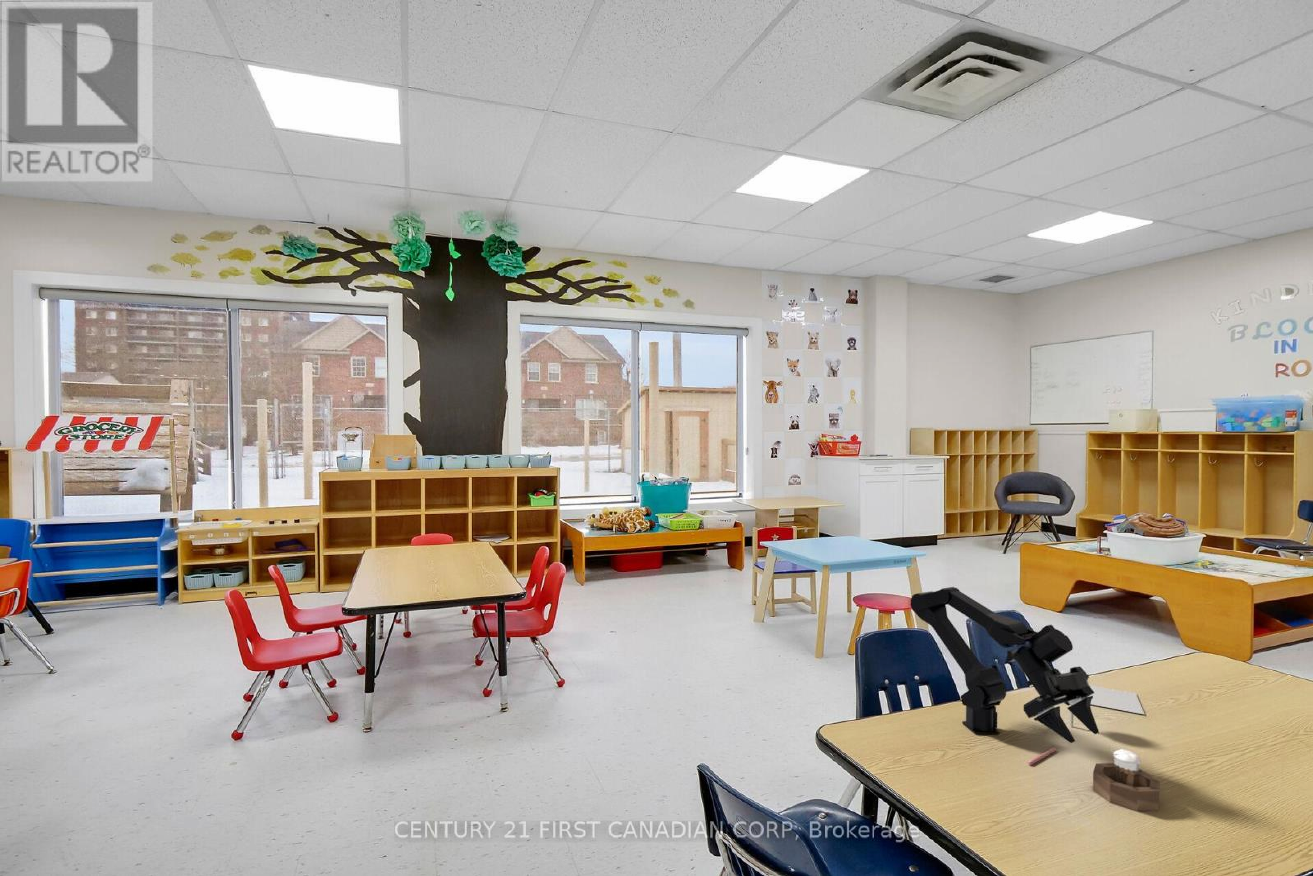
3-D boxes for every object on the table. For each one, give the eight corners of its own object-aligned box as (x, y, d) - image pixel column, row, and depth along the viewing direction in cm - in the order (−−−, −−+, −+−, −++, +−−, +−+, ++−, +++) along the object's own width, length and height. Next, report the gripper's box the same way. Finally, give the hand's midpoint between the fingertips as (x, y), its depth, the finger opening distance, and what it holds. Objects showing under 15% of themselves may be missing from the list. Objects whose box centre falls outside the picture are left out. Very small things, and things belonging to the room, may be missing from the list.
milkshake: (1104, 787, 137) (1105, 741, 137) (1133, 791, 136) (1134, 744, 136) (1113, 798, 133) (1114, 750, 133) (1143, 803, 131) (1144, 755, 131)
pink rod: (1030, 766, 146) (1031, 762, 146) (1027, 764, 146) (1027, 761, 146) (1056, 751, 153) (1056, 747, 153) (1053, 749, 154) (1053, 746, 154)
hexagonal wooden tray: (1122, 812, 128) (1122, 792, 128) (1081, 782, 139) (1082, 763, 139) (1173, 810, 129) (1173, 790, 129) (1128, 780, 140) (1128, 762, 140)
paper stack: (1176, 703, 183) (1176, 700, 183) (1196, 738, 161) (1196, 735, 161) (1079, 685, 195) (1079, 683, 195) (1085, 716, 173) (1085, 713, 173)
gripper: (1038, 662, 142) (1088, 732, 132) (1086, 649, 150) (1137, 715, 141) (1003, 683, 149) (1049, 752, 139) (1052, 670, 157) (1098, 734, 148)
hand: (1085, 737), depth 142 cm, fingers open, 9 cm apart
